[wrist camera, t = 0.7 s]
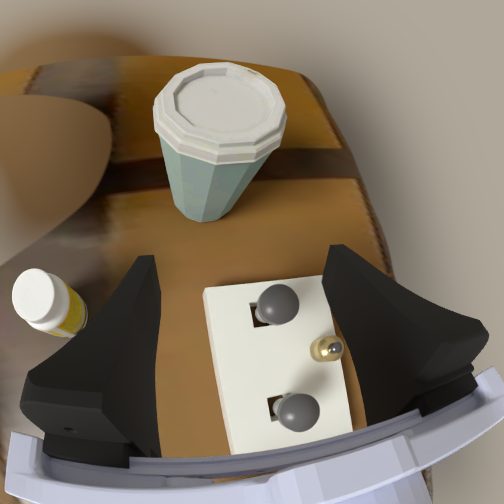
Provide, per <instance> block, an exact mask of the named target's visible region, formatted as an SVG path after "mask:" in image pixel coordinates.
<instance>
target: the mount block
mask: <svg viewBox="0 0 504 504" xmlns="http://www.w3.org/2000/svg"><path fill="white" fill-rule="evenodd" d="M321 281H322V275H318V276H310V277H302V278H293V279H285V280H276V281H267V282H258V283H249V284H239V285H230V286H220V287H209V288H205V290H204V293H203V300H204V307H205V314H206V320H207V327H208V333H209V340H210V346H211V352H212V358H213V364H214V370H215V375H216V381H217V386H218V392H219V397H220V402H221V407H222V413H223V418H224V423H225V427H226V432H227V437H228V442H229V446H230V451H231V455H235V454H244V453H252V452H259V451H266V450H273V449H279V448H284V447H290V446H295V445H300V444H305V443H309V442H314V441H318V440H322V439H326V438H330V437H334V436H338V435H342V434H345V433H349V432H352V431H353V430H352V423H351V417H350V411H349V404H348V398H347V393H346V387H345V381H344V376H343V370H342V365H341V360H340V359H338V360H337V361H331V362H316V361H315V360H313V359H312V357H311V355H310V346H311V344H312V342H313V341H314V340H316V339H318V338H322V337H327V336H331V335H335V330H334V325H333V321H332V316H331V311H330V307H329V304H328V302H327V299H326V296H325V293H324V289H323V286H322V283H321ZM274 284H284V285H287V286H289V287H290V288H292V289H293V290H294V291H295V293H296V294H297V296H298V299H299V311H298V313H297V315H296V317H295V318H294V319H293V320H291V321H290V322H287V323H285V324H282V325H278V326H275V325H270V324H269V326H264V327H257V328H254V326H253V321H252V315H251V310H250V307H253V306H257V301H258V298H259V296H260V295H261V293H262V292H263V291H265V290H266V289H267V288H268V287H270V286H272V285H274ZM335 336H336V335H335ZM293 393H302V394H308V395H310V396H312V397H314V398H315V399H316V400H317V402H318V404H319V407H320V416H319V419H318V421H317V423H316V424H315V425H314V426H313V427H312V428H311V429H309V430H307V431H304V432H294V431H292V430H289V429H287V428H285V427H284V426H282V425H281V424H280V422H279V420H278V417H277V415H274V416H270V413H269V408H268V402H267V398H269V397H273V396H278V395H283V398H285V397H286V396H288V395H290V394H293Z"/></svg>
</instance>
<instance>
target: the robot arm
mask: <svg viewBox="0 0 504 504" xmlns="http://www.w3.org/2000/svg"><path fill="white" fill-rule="evenodd" d="M321 283H322V286H323V289H324V293H325V296H326V299H327V302H328V304H329V306H330V308H331V310H332V313H333V315H334V317H335V319H336V321H337V323H338V325H339V328H340V330H341V332H342V334H343V336H344V338H345V340H346V343H347V345H348V348H349V350H350V353H351V357H352V360H353V363H354V366H355V370H356V373H357V377H358V381H359V385H360V389H361V394H362V398H363V403H364V409H365V415H366V421H367V427H366V428H362V429H359V430H356V431H352V432H349V433H345V434H342V435H338V436H334V437H330V438H326V439H322V440H318V441H314V442H309V443H305V444H300V445H295V446H290V447H284V448H279V449H273V450H266V451H259V452H252V453H244V454H235V455H224V456H212V457H192V458H162V456H161V449H160V441H159V433H158V423H157V411H156V393H155V361H156V352H157V343H158V334H159V326H160V318H161V290H160V285H159V280H158V275H157V270H156V264H155V259H154V255H145V256H138V258H137V259H136V260H135V262H134V263H133V265H132V266H131V268H130V269H129V271H128V272H127V274H126V275H125V277H124V278H123V280H122V281H121V283H120V284H119V285H118V287H117V288H116V290H115V291H114V292H113V294H112V295H111V296H110V298H109V299H108V300H107V302H106V303H105V304H104V305H103V307H102V308H101V309H100V310H99V312H98V313H97V314H96V315H95V316H94V317H93V318H92V320H91V321H90V322H89V323H88V324H87V325H86V326H85V327H84V328H83V329H82V330H81V331H80V332H79V333H78V334H76V335H75V336H74V337H73V338H72V339H71V340H70V341H69V342H68V343H67V344H66V345H64V346H63V347H62V348H61V349H59V350H58V351H57V352H56V353H54V354H53V355H52V356H51V357H49V358H48V359H46V360H45V361H43V362H42V363H41V364H39V365H38V366H36V367H35V368H33V369H32V370H30V371H29V372H28V374H27V377H26V380H25V384H24V388H23V392H22V396H21V401H20V409H21V411H22V413H23V414H24V415H25V416H26V417H27V418H28V419H29V420H30V421H31V422H33V423H34V424H35V425H36V426H37V427H39V428H40V429H41V430H42V431H44V432H45V436H44V440H43V439H40V438H38V437H35V436H31V435H27V434H23V433H19V432H15V431H12V432H11V438H10V444H9V451H8V459H7V468H6V479H5V492H6V493H8V494H11V495H13V496H15V497H18V498H21V499H23V500H26V501H29V502H31V503H34V504H432V501H431V498H430V495H429V492H428V490H427V487H426V484H425V481H424V479H423V476H422V473H421V471H422V470H424V469H426V468H428V467H430V466H432V465H434V464H436V463H437V462H439V461H441V460H443V459H444V458H446V457H448V456H450V455H451V454H453V453H454V452H456V451H458V450H459V449H461V448H463V447H464V446H466V445H467V444H469V443H470V442H472V441H473V440H475V439H476V438H478V437H479V436H481V435H482V434H484V433H485V432H486V431H488V430H489V429H490V428H492V427H493V426H494V425H496V424H497V423H498V422H499V421H501V420H502V419H503V418H504V383H503V381H502V379H501V378H500V376H499V374H498V372H497V371H496V369H495V367H494V366H492V367H490V368H488V369H486V370H484V371H482V372H481V373H479V374H478V375H477V376H475V377H473V375H472V373H471V372H473V370H474V367H473V365H472V364H471V362H472V361H473V360H474V359H475V358H476V356H477V355H478V354H479V353H480V352H481V350H482V349H483V348H484V346H485V345H486V343H487V341H488V338H489V333H488V331H487V330H486V329H485V327H484V326H483V324H482V323H481V322H480V320H478V319H474V318H471V317H468V316H464V315H461V314H458V313H456V312H453V311H450V310H448V309H445V308H443V307H440V306H438V305H436V304H434V303H432V302H430V301H428V300H426V299H424V298H422V297H420V296H418V295H416V294H415V293H413V292H411V291H409V290H408V289H406V288H404V287H403V286H401V285H400V284H398V283H397V282H395V281H394V280H392V279H391V278H389V277H388V276H386V275H385V274H384V273H382V272H381V271H379V270H378V269H377V268H375V267H374V266H373V265H371V264H370V263H369V262H367V261H366V260H365V259H363V258H362V257H361V256H359V255H358V254H356V253H355V252H354V251H352V250H351V249H349V248H348V247H346V246H345V245H343V244H340V245H330V248H329V252H328V256H327V261H326V265H325V269H324V273H323V277H322V281H321ZM274 471H278V472H276V473H272V474H267V475H262V476H257V477H252V478H247V479H241V480H235V481H228V482H221V483H214V481H213V480H211V479H215V478H228V477H238V476H246V475H254V474H261V473H268V472H274Z"/></svg>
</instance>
